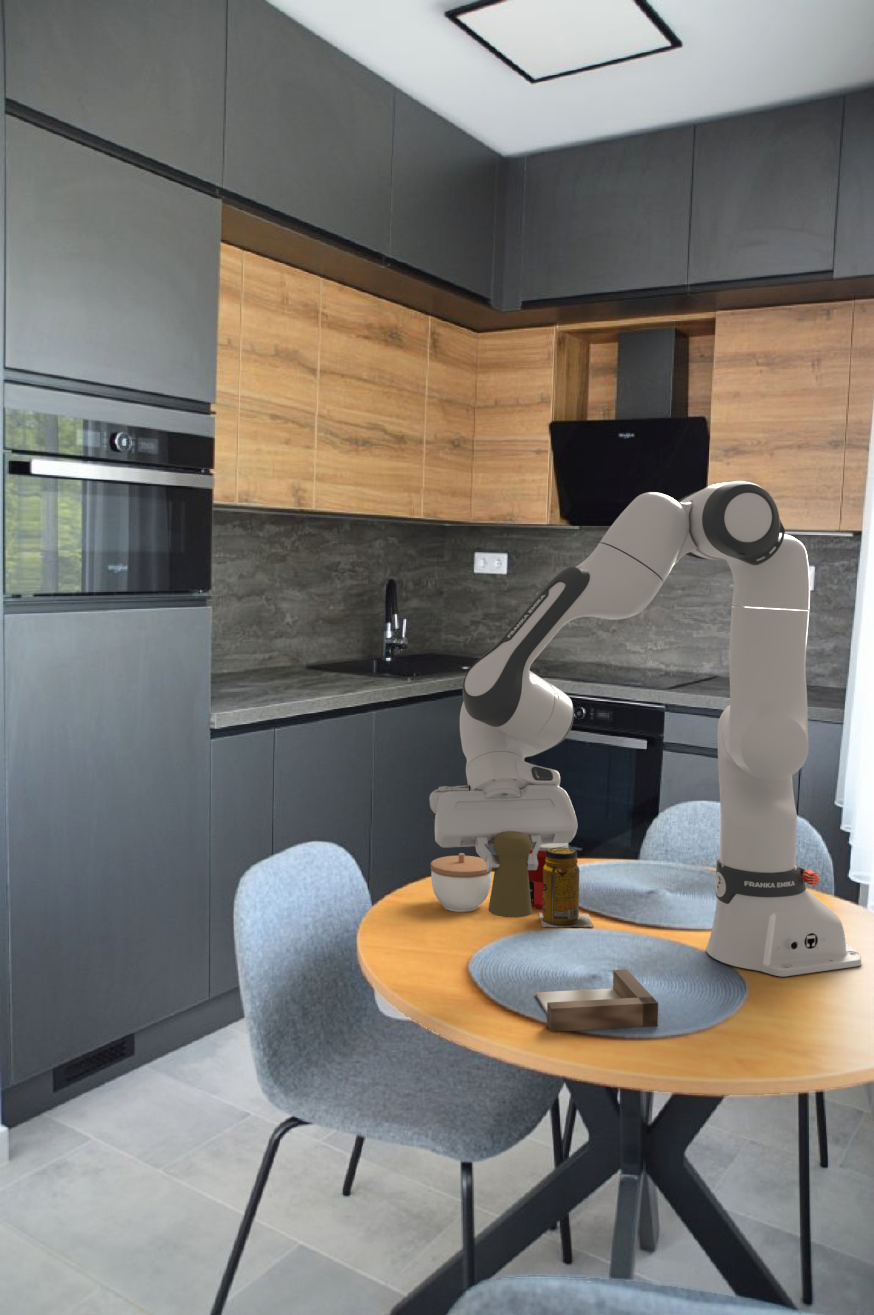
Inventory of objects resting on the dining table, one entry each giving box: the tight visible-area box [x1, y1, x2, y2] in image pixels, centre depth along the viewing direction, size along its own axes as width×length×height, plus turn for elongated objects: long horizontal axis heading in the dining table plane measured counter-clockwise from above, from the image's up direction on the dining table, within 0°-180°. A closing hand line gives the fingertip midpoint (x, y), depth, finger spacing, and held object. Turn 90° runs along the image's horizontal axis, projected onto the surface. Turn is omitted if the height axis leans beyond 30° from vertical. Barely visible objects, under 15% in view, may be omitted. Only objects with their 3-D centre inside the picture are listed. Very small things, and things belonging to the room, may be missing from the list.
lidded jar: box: [430, 852, 493, 913], centre depth 186 cm, size 11×11×9 cm
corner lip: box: [535, 968, 659, 1033], centre depth 141 cm, size 14×12×3 cm
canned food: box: [528, 843, 569, 910], centre depth 188 cm, size 8×8×11 cm
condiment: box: [538, 847, 595, 928], centre depth 179 cm, size 7×8×12 cm
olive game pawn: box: [487, 831, 533, 919], centre depth 148 cm, size 6×6×11 cm
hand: (513, 869), depth 147 cm, fingers closed on olive game pawn, 4 cm apart
